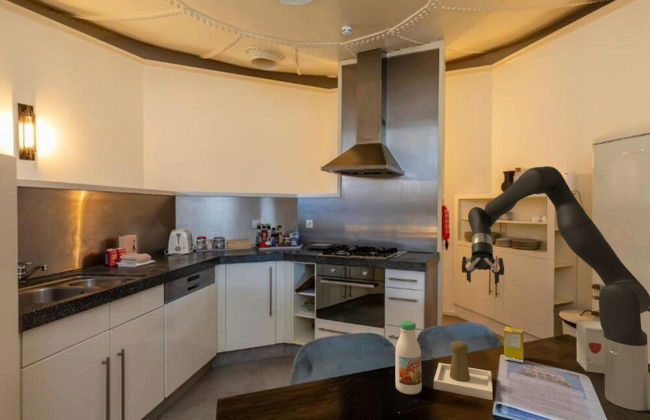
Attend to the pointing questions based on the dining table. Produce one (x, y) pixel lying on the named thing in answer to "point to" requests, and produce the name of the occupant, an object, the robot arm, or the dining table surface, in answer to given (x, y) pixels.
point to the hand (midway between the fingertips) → (482, 282)
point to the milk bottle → (408, 360)
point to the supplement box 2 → (590, 346)
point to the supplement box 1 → (513, 343)
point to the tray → (474, 387)
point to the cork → (459, 362)
